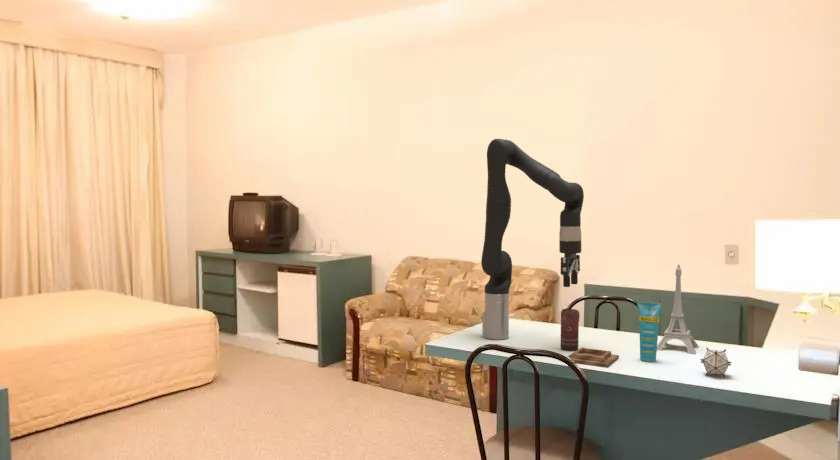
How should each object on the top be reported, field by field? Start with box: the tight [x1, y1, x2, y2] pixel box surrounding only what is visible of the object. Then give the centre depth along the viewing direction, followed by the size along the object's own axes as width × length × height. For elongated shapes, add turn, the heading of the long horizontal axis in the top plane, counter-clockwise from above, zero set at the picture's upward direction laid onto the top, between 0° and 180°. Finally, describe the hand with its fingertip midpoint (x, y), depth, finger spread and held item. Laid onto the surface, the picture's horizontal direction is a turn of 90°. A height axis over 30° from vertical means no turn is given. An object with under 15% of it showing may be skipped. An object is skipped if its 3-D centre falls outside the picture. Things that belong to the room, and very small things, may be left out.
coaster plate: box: [567, 347, 620, 369], centre depth 209 cm, size 14×14×2 cm
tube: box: [636, 301, 662, 363], centre depth 208 cm, size 7×5×19 cm, turn 73°
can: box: [560, 308, 581, 352], centre depth 223 cm, size 6×6×14 cm
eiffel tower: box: [657, 264, 700, 355], centre depth 225 cm, size 13×13×30 cm
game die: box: [700, 347, 732, 378], centre depth 190 cm, size 9×8×10 cm
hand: (570, 285), depth 223 cm, fingers open, 8 cm apart
